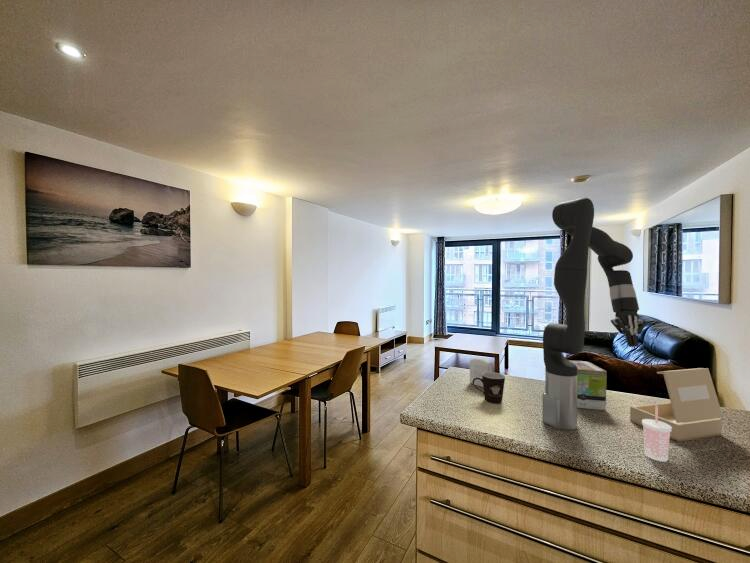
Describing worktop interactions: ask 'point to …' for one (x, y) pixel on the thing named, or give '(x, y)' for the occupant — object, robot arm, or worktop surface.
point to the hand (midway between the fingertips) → (633, 346)
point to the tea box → (590, 386)
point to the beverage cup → (656, 438)
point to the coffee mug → (492, 386)
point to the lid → (692, 394)
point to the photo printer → (479, 369)
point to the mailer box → (679, 430)
